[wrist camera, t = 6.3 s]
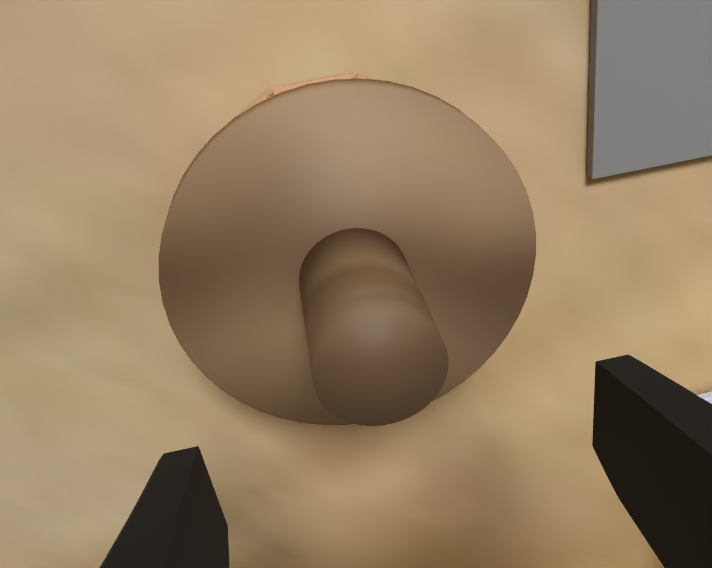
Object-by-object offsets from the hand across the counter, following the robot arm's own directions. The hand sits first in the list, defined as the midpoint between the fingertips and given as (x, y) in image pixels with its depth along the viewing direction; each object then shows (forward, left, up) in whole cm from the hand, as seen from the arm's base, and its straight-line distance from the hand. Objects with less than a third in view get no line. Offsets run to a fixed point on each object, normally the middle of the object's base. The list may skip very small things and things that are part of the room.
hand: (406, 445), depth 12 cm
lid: (0, 0, -7) cm, 7 cm away
